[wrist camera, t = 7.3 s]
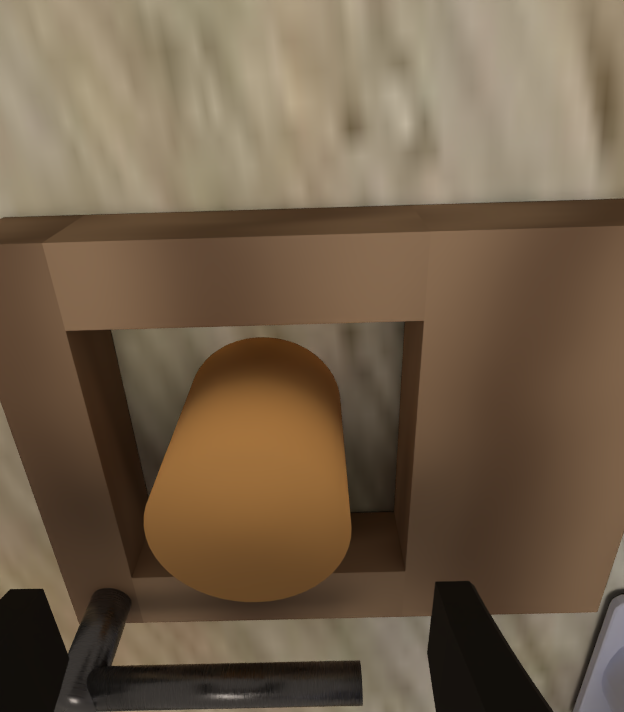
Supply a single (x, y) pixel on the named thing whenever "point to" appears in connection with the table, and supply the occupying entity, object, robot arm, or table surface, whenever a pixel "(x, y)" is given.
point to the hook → (189, 675)
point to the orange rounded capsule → (254, 476)
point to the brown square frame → (417, 401)
